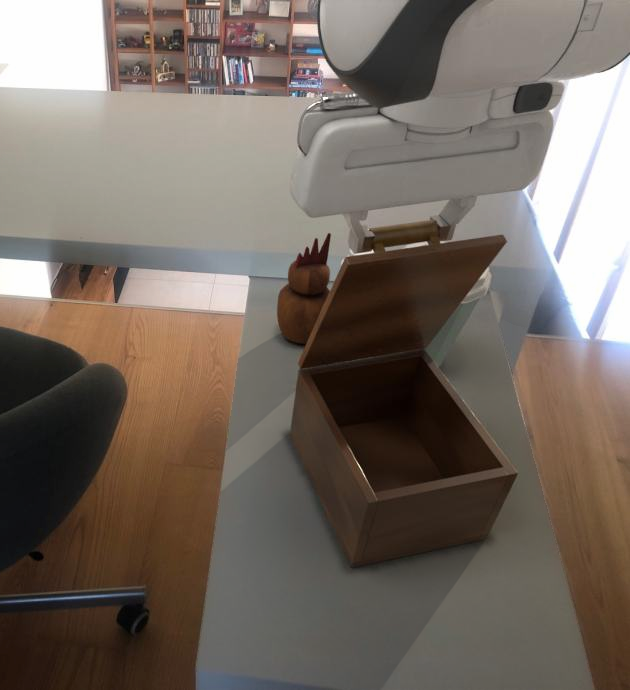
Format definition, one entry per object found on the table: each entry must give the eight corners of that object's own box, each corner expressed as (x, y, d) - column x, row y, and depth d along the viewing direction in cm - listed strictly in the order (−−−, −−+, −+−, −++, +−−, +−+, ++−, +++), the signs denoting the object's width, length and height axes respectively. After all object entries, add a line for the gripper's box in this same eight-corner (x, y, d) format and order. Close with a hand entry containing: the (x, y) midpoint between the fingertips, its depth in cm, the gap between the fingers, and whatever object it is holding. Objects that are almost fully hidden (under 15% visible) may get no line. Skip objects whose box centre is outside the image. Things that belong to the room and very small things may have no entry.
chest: (486, 539, 66) (518, 473, 60) (351, 568, 64) (368, 503, 57) (405, 414, 78) (424, 348, 72) (289, 435, 76) (298, 369, 70)
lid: (507, 241, 56) (483, 196, 58) (348, 264, 54) (329, 217, 56) (426, 348, 72) (409, 309, 74) (299, 369, 69) (286, 329, 72)
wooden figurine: (328, 324, 91) (344, 224, 81) (327, 352, 87) (344, 251, 77) (276, 318, 92) (286, 220, 82) (272, 346, 88) (282, 246, 78)
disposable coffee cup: (373, 325, 91) (395, 226, 81) (460, 339, 88) (493, 238, 78) (368, 380, 83) (392, 277, 73) (463, 396, 80) (500, 292, 71)
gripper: (318, 113, 47) (298, 281, 56) (586, 84, 50) (526, 247, 59) (286, 81, 52) (273, 240, 61) (533, 56, 55) (485, 211, 64)
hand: (399, 243), depth 60 cm, fingers closed on lid, 6 cm apart
